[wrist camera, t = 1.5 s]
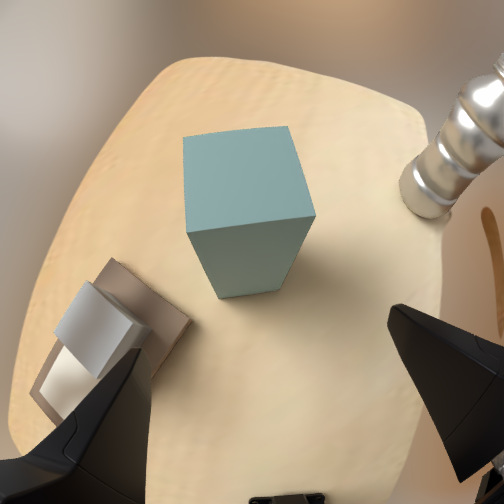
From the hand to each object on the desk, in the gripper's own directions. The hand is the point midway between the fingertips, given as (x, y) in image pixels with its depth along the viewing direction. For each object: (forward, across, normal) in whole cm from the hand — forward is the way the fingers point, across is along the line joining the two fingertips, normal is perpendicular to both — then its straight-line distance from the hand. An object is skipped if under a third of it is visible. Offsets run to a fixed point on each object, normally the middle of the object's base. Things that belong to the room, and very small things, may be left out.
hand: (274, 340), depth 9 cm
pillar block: (+14, 0, +4) cm, 15 cm away
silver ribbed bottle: (+17, -20, +1) cm, 27 cm away
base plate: (+9, +14, +10) cm, 19 cm away
